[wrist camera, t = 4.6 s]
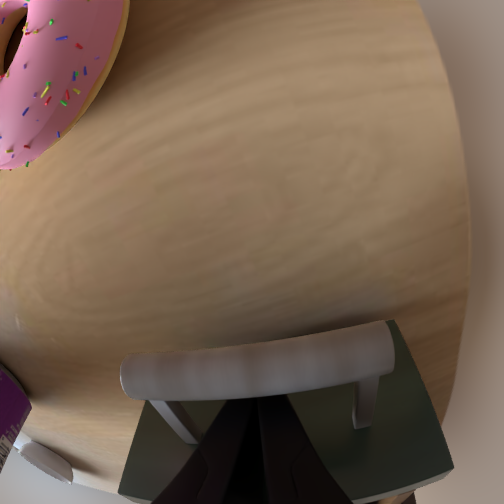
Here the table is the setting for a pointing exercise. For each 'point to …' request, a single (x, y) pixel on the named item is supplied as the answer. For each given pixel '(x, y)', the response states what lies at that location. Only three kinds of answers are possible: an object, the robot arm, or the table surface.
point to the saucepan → (47, 461)
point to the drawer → (305, 404)
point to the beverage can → (11, 412)
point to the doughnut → (53, 69)
